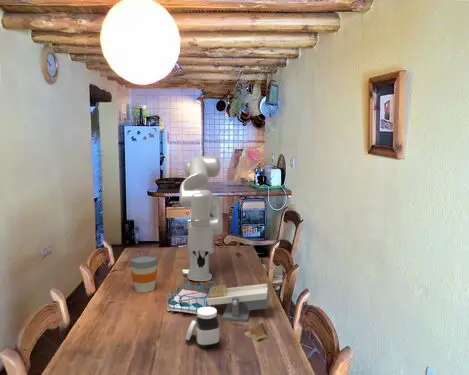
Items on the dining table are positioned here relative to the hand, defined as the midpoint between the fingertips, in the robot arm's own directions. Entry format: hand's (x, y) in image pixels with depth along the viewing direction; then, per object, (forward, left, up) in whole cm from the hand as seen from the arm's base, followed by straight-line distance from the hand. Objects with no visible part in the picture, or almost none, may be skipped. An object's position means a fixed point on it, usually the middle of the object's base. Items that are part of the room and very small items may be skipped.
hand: (201, 266), depth 163 cm
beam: (+16, 0, -16) cm, 23 cm away
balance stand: (+15, 0, -19) cm, 24 cm away
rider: (+7, 0, -13) cm, 15 cm away
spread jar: (+6, -26, -19) cm, 32 cm away
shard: (+24, -17, -19) cm, 35 cm away
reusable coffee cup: (-32, +16, -19) cm, 40 cm away
